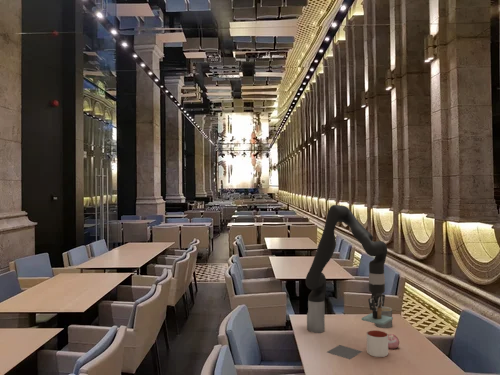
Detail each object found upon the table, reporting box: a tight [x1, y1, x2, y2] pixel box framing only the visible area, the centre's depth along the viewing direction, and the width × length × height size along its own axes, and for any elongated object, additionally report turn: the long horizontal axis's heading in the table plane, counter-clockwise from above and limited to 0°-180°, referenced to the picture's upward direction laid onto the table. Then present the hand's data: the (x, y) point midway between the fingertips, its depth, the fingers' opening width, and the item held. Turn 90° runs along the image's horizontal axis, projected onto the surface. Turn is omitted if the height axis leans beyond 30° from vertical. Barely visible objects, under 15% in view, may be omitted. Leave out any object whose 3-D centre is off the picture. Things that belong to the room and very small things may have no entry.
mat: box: [326, 344, 363, 360], centre depth 202 cm, size 13×13×1 cm
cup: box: [366, 330, 389, 358], centre depth 200 cm, size 10×10×10 cm
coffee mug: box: [374, 306, 393, 329], centre depth 245 cm, size 13×10×10 cm
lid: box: [361, 306, 394, 325], centre depth 200 cm, size 11×11×6 cm
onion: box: [387, 333, 400, 350], centre depth 208 cm, size 8×8×7 cm
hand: (377, 317), depth 200 cm, fingers closed on lid, 4 cm apart
